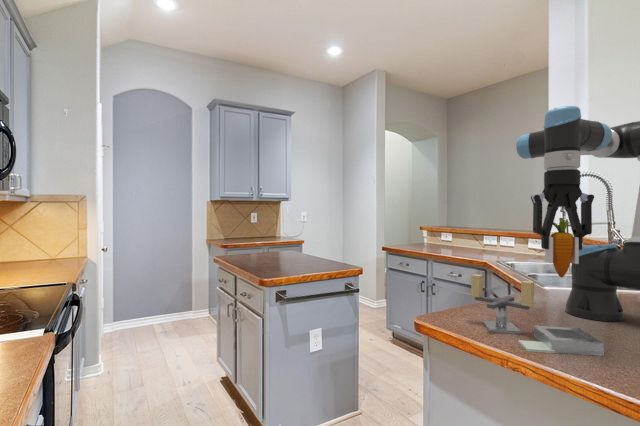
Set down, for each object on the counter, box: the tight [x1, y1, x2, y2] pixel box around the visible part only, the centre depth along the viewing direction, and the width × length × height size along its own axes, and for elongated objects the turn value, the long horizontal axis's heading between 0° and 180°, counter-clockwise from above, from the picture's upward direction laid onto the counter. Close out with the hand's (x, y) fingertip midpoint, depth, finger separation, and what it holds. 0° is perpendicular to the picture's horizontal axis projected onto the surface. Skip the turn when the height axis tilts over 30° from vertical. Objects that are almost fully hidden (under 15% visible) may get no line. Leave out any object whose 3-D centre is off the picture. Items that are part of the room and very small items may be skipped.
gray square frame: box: [532, 325, 605, 357], centre depth 89 cm, size 11×11×3 cm
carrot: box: [550, 217, 574, 279], centre depth 88 cm, size 5×5×15 cm
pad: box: [517, 339, 556, 354], centre depth 87 cm, size 6×6×1 cm
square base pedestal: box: [482, 306, 522, 335], centre depth 102 cm, size 8×8×7 cm
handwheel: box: [470, 273, 535, 310], centre depth 102 cm, size 16×14×8 cm
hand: (561, 262), depth 88 cm, fingers closed on carrot, 5 cm apart
